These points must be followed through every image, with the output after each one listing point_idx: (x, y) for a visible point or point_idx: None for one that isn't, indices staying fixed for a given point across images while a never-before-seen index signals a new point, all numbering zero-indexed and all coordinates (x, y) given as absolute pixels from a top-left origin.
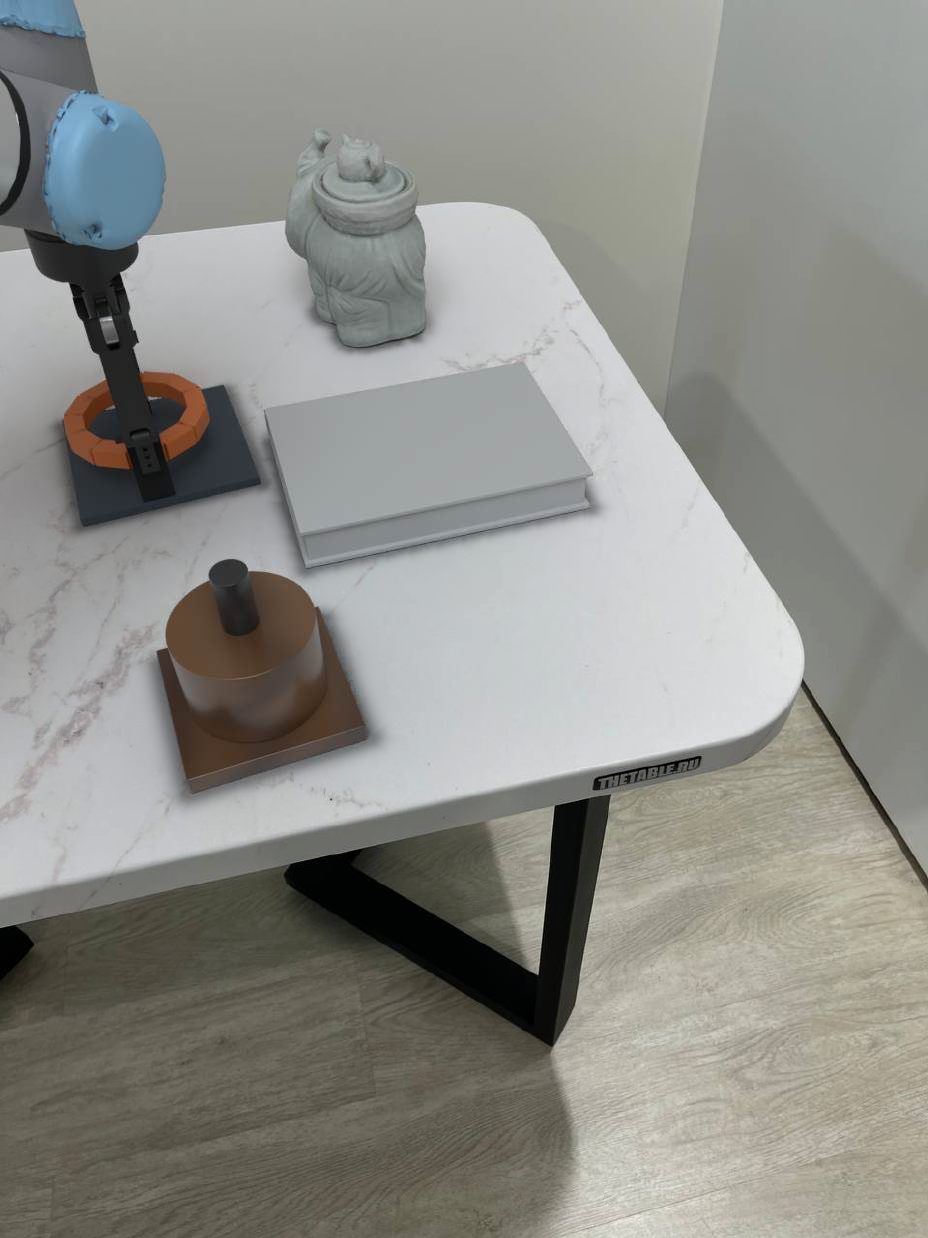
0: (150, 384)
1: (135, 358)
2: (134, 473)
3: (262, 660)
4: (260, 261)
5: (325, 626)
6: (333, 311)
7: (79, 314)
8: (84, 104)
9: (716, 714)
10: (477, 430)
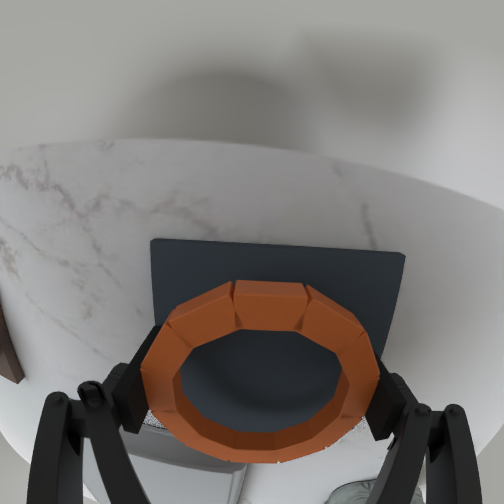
0: (328, 421)
1: (371, 431)
2: (138, 351)
3: None
4: (480, 428)
5: (5, 377)
6: (361, 501)
7: None
8: None
9: (10, 441)
10: None
